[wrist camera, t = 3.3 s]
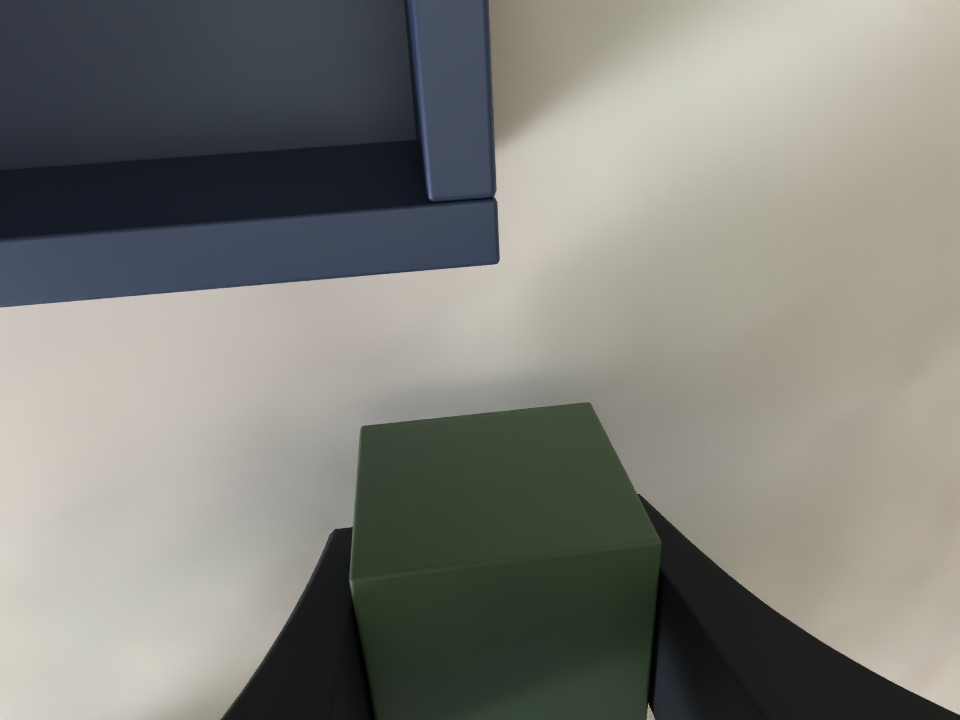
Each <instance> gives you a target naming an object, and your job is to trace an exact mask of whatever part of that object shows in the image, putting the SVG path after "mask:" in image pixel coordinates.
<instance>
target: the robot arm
mask: <svg viewBox="0 0 960 720" xmlns="http://www.w3.org/2000/svg"><path fill="white" fill-rule="evenodd" d="M637 495H638V497H639V499H640V501H641V503H642V505H643V507H644V509H645V510H646V512H647V514H648V516H649V518H650V520H651V522H652V524H653V526H654V528H655V530H656V532H657V534H658V536H659V538H660V540H661V542H662V543H661V555H660V567H659V578H658V590H657V602H656V614H655V625H654V637H653V649H652V661H651V673H650V684H649V696H648V703H649V706H650V708H651V710H652V713H653V715H654V717H655V720H960V715H958V714H956V713H954V712H952V711H950V710H947V709H945V708H943V707H941V706H939V705H937V704H935V703H933V702H931V701H929V700H927V699H925V698H923V697H921V696H919V695H917V694H915V693H913V692H911V691H909V690H906V689H905V688H903V687H901V686H899V685H897V684H895V683H893V682H891V681H889V680H887V679H886V678H884V677H882V676H880V675H878V674H876V673H874V672H873V671H871V670H869V669H867V668H866V667H864V666H862V665H860V664H859V663H857V662H855V661H853V660H852V659H850V658H848V657H846V656H845V655H843V654H841V653H839V652H838V651H836V650H834V649H833V648H831V647H830V646H828V645H826V644H825V643H823V642H821V641H820V640H818V639H817V638H815V637H814V636H812V635H811V634H809V633H808V632H806V631H805V630H803V629H801V628H800V627H798V626H797V625H795V624H794V623H792V622H791V621H789V620H788V619H786V618H785V617H783V616H782V615H781V614H779V613H778V612H776V611H775V610H774V609H772V608H771V607H769V606H768V605H767V604H765V603H764V602H763V601H761V600H760V599H759V598H757V597H756V596H755V595H753V594H752V593H751V592H750V591H748V590H747V589H746V588H744V587H743V586H742V585H741V584H739V583H738V582H737V581H736V580H734V579H733V578H732V577H731V576H730V575H728V574H727V573H726V572H725V571H724V570H722V569H721V568H720V567H719V566H718V565H717V564H715V563H714V562H713V561H712V560H711V559H710V558H708V557H707V556H706V555H705V554H704V553H703V552H701V551H700V550H699V549H698V548H697V547H696V546H695V545H694V544H692V543H691V542H690V541H689V540H688V539H687V538H686V537H685V536H684V535H683V534H682V533H680V532H679V531H678V530H677V529H676V528H675V527H674V526H673V525H672V524H671V523H670V522H669V521H668V520H667V519H666V518H664V517H663V516H662V515H661V514H660V513H659V512H658V511H657V510H656V509H655V508H654V507H653V506H652V505H651V504H650V503H649V502H648V501H647V500H645V499H644V498H643V497H642V496H641V495H640V494H637ZM352 535H353V527H350V528H341V529H335V530H334V531H333V532H332V533H331V534H330V535H329V538H328V540H327V543H326V545H325V548H324V550H323V552H322V555H321V557H320V559H319V561H318V563H317V566H316V568H315V570H314V572H313V574H312V576H311V578H310V580H309V582H308V584H307V586H306V588H305V590H304V592H303V593H302V595H301V597H300V599H299V601H298V602H297V604H296V606H295V608H294V610H293V612H292V613H291V615H290V617H289V619H288V621H287V622H286V624H285V626H284V627H283V629H282V631H281V632H280V634H279V636H278V637H277V639H276V640H275V642H274V644H273V645H272V647H271V648H270V650H269V651H268V653H267V655H266V656H265V658H264V659H263V661H262V663H261V664H260V666H259V667H258V669H257V670H256V672H255V673H254V675H253V676H252V677H251V679H250V680H249V682H248V683H247V685H246V686H245V687H244V689H243V690H242V692H241V693H240V694H239V696H238V697H237V698H236V700H235V701H234V702H233V704H232V705H231V707H230V708H229V709H228V711H227V712H226V713H225V714H224V716H223V717H222V718H221V720H375V718H374V712H373V707H372V701H371V696H370V691H369V685H368V680H367V674H366V669H365V663H364V658H363V653H362V647H361V642H360V636H359V631H358V626H357V620H356V615H355V609H354V604H353V598H352V593H351V588H350V582H349V576H350V562H351V549H352Z"/></svg>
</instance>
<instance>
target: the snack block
mask: <svg viewBox="0 0 960 720" xmlns="http://www.w3.org/2000/svg"><path fill="white" fill-rule="evenodd" d="M661 543H662V542H661V540H660V538H659V536H658V534H657V532H656V530H655V528H654V526H653V524H652V522H651V520H650V518H649V516H648V514H647V512H646V510H645V509H644V507H643V505H642V503H641V501H640V499H639V497H638V495H637V493H636V491H635V489H634V487H633V485H632V483H631V481H630V479H629V477H628V475H627V473H626V472H625V470H624V468H623V466H622V464H621V462H620V460H619V458H618V456H617V454H616V452H615V450H614V448H613V446H612V444H611V442H610V440H609V438H608V436H607V435H606V433H605V431H604V429H603V427H602V425H601V423H600V421H599V419H598V417H597V415H596V413H595V411H594V409H593V407H592V405H591V403H587V402H586V403H577V404H567V405H558V406H548V407H539V408H529V409H520V410H510V411H501V412H491V413H482V414H472V415H463V416H453V417H444V418H434V419H425V420H415V421H406V422H396V423H387V424H377V425H368V426H363V427H361V430H360V441H359V454H358V468H357V481H356V495H355V508H354V522H353V535H352V549H351V562H350V576H349V582H350V588H351V593H352V598H353V604H354V609H355V615H356V620H357V626H358V631H359V636H360V642H361V647H362V653H363V658H364V663H365V669H366V674H367V680H368V685H369V691H370V696H371V701H372V707H373V712H374V718H375V720H647V708H648V696H649V684H650V673H651V661H652V649H653V637H654V625H655V614H656V602H657V590H658V578H659V567H660V555H661Z"/></svg>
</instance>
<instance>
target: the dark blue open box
mask: <svg viewBox="0 0 960 720" xmlns="http://www.w3.org/2000/svg"><path fill="white" fill-rule="evenodd" d="M495 193H496V166H495V142H494V118H493V94H492V70H491V45H490V21H489V0H0V307H10V306H22V305H33V304H45V303H56V302H68V301H79V300H91V299H102V298H114V297H125V296H137V295H148V294H160V293H171V292H183V291H194V290H206V289H217V288H229V287H240V286H252V285H263V284H275V283H286V282H298V281H309V280H320V279H332V278H343V277H355V276H366V275H378V274H389V273H401V272H412V271H424V270H435V269H447V268H458V267H470V266H481V265H493V264H497V263H499V260H500V256H499V232H498V208H497V201H496V199H495V197H494V195H495Z"/></svg>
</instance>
